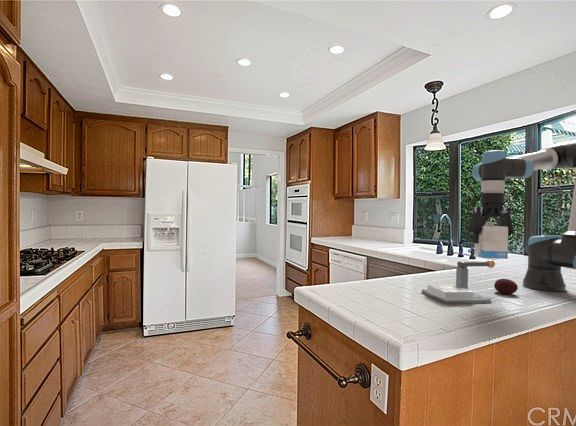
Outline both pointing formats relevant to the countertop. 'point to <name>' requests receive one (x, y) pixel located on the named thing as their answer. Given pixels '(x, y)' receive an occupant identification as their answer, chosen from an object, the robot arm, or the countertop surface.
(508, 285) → the potato
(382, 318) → the countertop surface
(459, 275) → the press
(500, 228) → the ink box
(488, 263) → the lever
